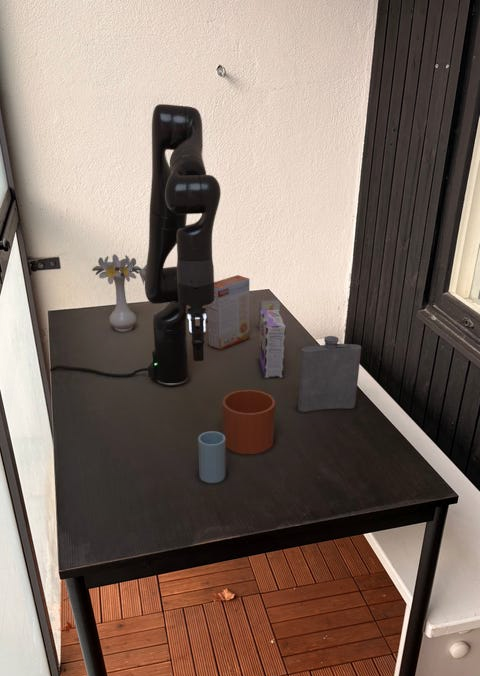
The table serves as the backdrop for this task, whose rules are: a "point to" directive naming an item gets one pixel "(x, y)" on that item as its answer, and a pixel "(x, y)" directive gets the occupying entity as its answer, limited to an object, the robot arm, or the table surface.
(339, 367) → the hip flask
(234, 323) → the cracker box
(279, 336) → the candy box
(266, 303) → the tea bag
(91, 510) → the table surface
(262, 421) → the flower pot
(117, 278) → the flower vase
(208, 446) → the enamel cup
